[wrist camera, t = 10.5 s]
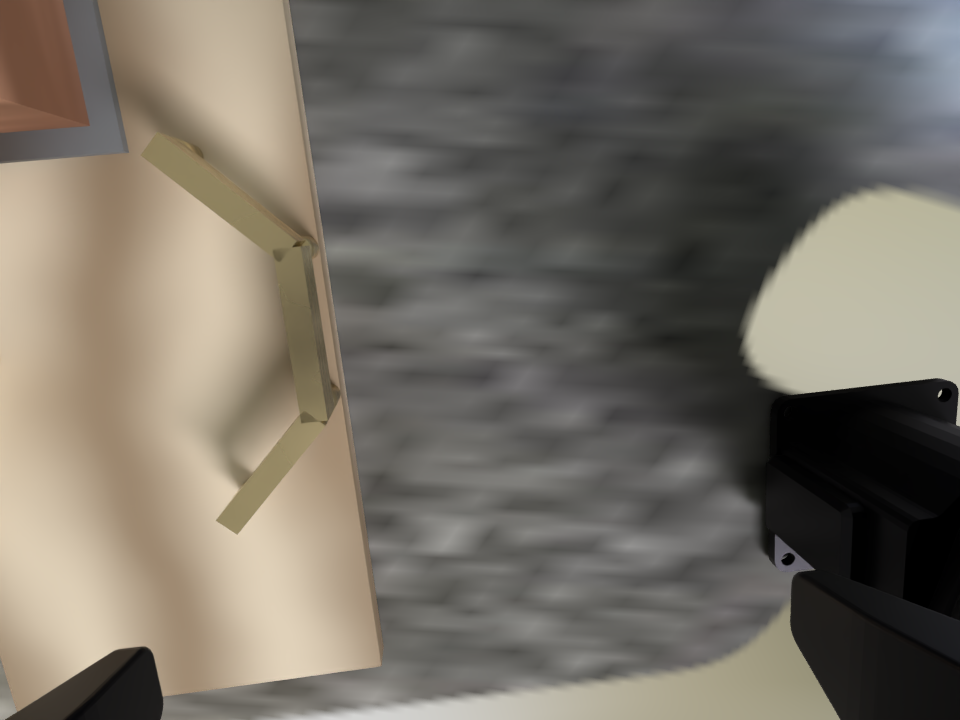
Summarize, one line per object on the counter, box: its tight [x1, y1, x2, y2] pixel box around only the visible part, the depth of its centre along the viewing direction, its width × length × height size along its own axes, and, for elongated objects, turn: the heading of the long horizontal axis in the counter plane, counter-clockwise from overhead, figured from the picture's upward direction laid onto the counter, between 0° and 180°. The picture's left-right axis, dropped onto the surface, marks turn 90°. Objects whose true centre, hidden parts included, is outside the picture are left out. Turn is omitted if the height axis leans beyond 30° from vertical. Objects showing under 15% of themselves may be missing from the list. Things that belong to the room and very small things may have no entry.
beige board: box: [0, 0, 384, 712], centre depth 18 cm, size 12×24×1 cm, turn 5°
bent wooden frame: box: [0, 132, 341, 535], centre depth 16 cm, size 12×11×2 cm
